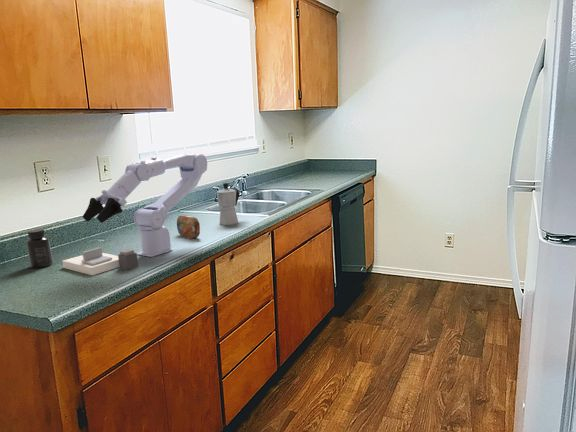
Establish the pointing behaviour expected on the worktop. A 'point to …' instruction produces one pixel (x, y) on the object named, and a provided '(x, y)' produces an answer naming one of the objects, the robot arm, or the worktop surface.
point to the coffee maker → (228, 205)
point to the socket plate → (91, 269)
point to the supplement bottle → (39, 249)
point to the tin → (188, 226)
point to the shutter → (94, 256)
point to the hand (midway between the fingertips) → (92, 219)
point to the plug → (127, 259)
